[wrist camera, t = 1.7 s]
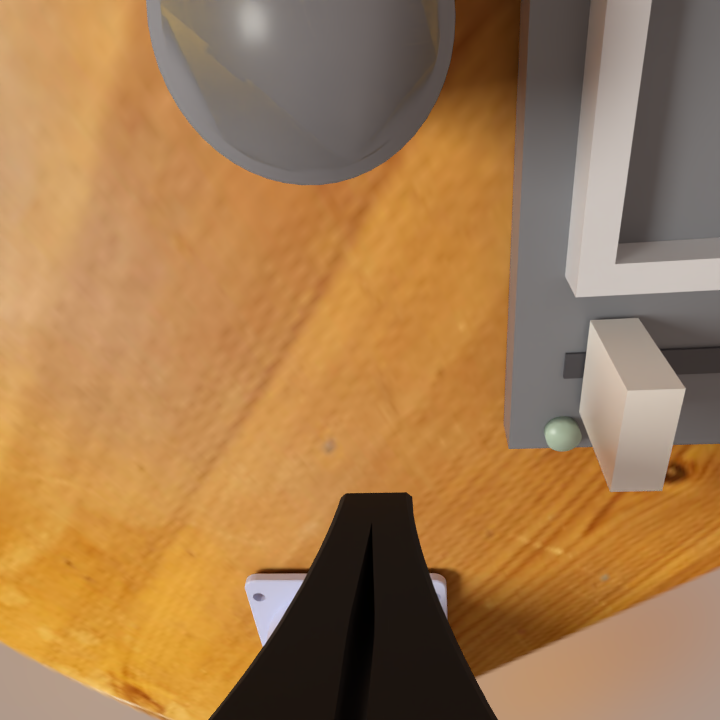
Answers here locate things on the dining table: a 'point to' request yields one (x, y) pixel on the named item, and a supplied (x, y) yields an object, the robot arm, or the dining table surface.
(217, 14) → the beige cylinder
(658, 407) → the lever
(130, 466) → the dining table surface
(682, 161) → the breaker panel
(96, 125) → the dining table surface
